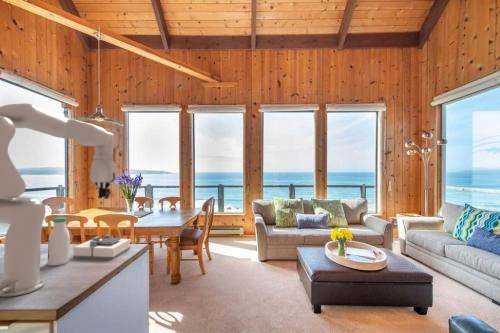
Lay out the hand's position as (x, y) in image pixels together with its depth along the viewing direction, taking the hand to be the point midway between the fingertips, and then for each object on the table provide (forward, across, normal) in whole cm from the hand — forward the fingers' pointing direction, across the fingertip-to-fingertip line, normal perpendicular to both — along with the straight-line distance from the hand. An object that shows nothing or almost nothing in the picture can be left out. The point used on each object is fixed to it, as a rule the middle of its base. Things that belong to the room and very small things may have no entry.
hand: (102, 196), depth 121 cm
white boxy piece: (+29, -3, +7) cm, 30 cm away
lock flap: (+22, -1, +7) cm, 23 cm away
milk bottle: (+29, -14, -8) cm, 33 cm away
